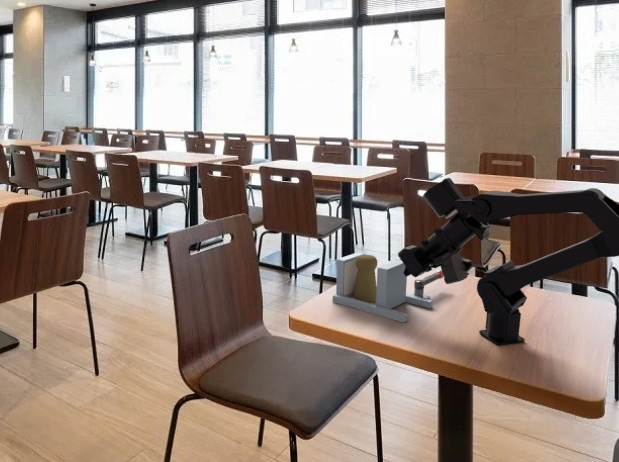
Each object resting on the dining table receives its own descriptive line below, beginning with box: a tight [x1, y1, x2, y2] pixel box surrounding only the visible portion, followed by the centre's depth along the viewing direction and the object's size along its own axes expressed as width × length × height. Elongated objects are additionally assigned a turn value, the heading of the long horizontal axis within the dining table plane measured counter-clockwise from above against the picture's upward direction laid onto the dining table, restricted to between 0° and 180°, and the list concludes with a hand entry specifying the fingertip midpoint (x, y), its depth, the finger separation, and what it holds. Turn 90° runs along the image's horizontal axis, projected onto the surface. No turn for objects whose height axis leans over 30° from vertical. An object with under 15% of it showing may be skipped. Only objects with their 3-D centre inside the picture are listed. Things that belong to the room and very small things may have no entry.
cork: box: [352, 254, 378, 304], centre depth 129 cm, size 6×6×11 cm
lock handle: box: [413, 269, 444, 289], centre depth 134 cm, size 13×2×2 cm, turn 139°
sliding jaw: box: [375, 258, 408, 310], centre depth 124 cm, size 3×9×10 cm, turn 140°
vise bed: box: [332, 251, 433, 323], centre depth 128 cm, size 20×18×10 cm
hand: (405, 274), depth 122 cm, fingers closed
